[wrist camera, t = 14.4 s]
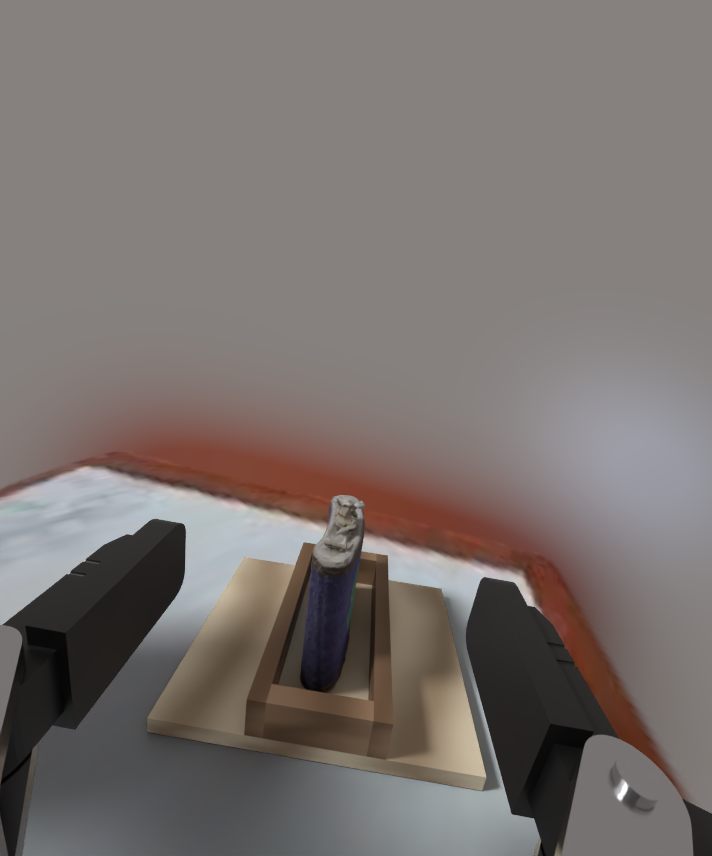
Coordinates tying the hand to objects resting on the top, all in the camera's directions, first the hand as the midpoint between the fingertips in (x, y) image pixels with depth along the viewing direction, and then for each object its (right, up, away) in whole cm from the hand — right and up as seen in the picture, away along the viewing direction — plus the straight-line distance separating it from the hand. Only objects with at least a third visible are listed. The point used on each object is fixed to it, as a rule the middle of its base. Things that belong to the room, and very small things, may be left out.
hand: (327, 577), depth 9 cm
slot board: (-1, -12, +16) cm, 20 cm away
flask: (-1, -11, +16) cm, 19 cm away
